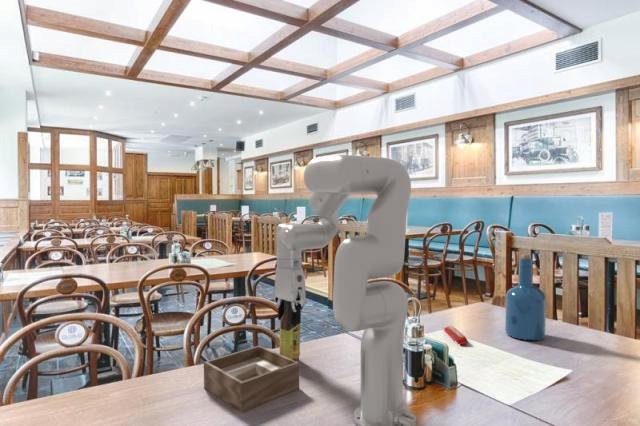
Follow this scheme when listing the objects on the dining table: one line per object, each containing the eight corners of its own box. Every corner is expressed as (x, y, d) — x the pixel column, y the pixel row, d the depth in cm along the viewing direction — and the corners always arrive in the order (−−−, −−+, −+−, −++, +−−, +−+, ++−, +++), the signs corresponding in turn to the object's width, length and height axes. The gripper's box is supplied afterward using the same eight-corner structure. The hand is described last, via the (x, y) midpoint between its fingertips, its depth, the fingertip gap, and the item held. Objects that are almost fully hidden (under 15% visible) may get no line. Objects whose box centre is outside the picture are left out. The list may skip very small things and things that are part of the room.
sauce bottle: (296, 366, 125) (297, 301, 124) (276, 364, 126) (277, 299, 125) (302, 358, 132) (302, 296, 131) (283, 356, 133) (283, 294, 132)
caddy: (299, 388, 111) (299, 362, 110) (241, 412, 98) (241, 383, 98) (259, 368, 123) (259, 345, 123) (204, 387, 111) (203, 362, 111)
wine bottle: (496, 333, 156) (497, 253, 155) (521, 328, 161) (522, 251, 160) (529, 344, 143) (530, 258, 142) (554, 339, 149) (556, 255, 148)
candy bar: (442, 332, 158) (442, 324, 158) (452, 332, 158) (452, 324, 158) (458, 347, 142) (458, 338, 142) (469, 347, 142) (469, 338, 142)
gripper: (317, 265, 124) (317, 325, 125) (281, 259, 137) (281, 313, 137) (298, 268, 119) (298, 330, 120) (262, 261, 132) (262, 318, 132)
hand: (289, 320), depth 129 cm, fingers closed on sauce bottle, 5 cm apart
